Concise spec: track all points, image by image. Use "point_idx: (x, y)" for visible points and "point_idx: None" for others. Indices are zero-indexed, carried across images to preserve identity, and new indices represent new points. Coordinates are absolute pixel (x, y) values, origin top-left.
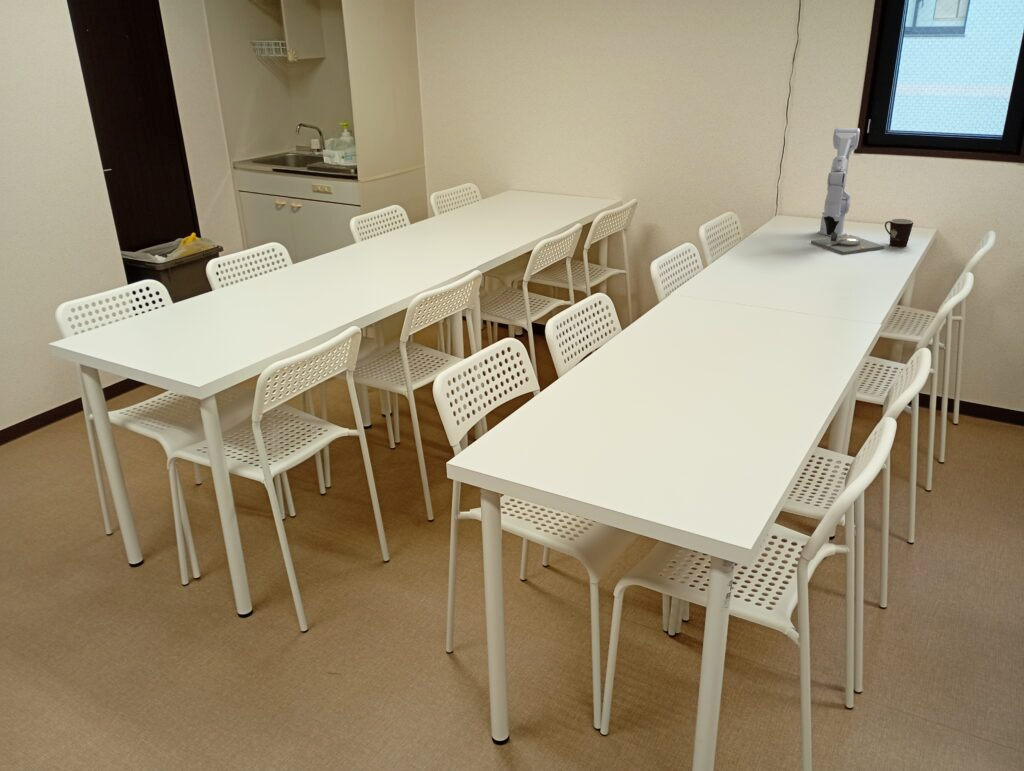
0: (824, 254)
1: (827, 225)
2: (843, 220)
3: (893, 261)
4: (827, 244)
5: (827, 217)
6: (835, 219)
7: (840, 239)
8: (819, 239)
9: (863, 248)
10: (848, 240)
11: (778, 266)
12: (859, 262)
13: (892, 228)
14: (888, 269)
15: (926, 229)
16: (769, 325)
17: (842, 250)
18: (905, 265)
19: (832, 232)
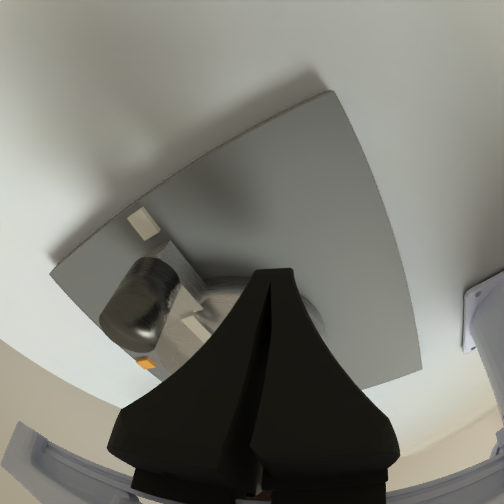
0: (31, 171)
1: (208, 353)
2: (496, 399)
3: (69, 368)
4: (185, 217)
5: (330, 475)
6: (12, 438)
7: (188, 326)
8: (373, 184)
9: (139, 362)
10: (180, 355)
11: None
12: (8, 288)
13: None
14: (5, 328)
15: (410, 452)
16: None
17: (68, 275)
18: (53, 371)
19: (123, 319)
